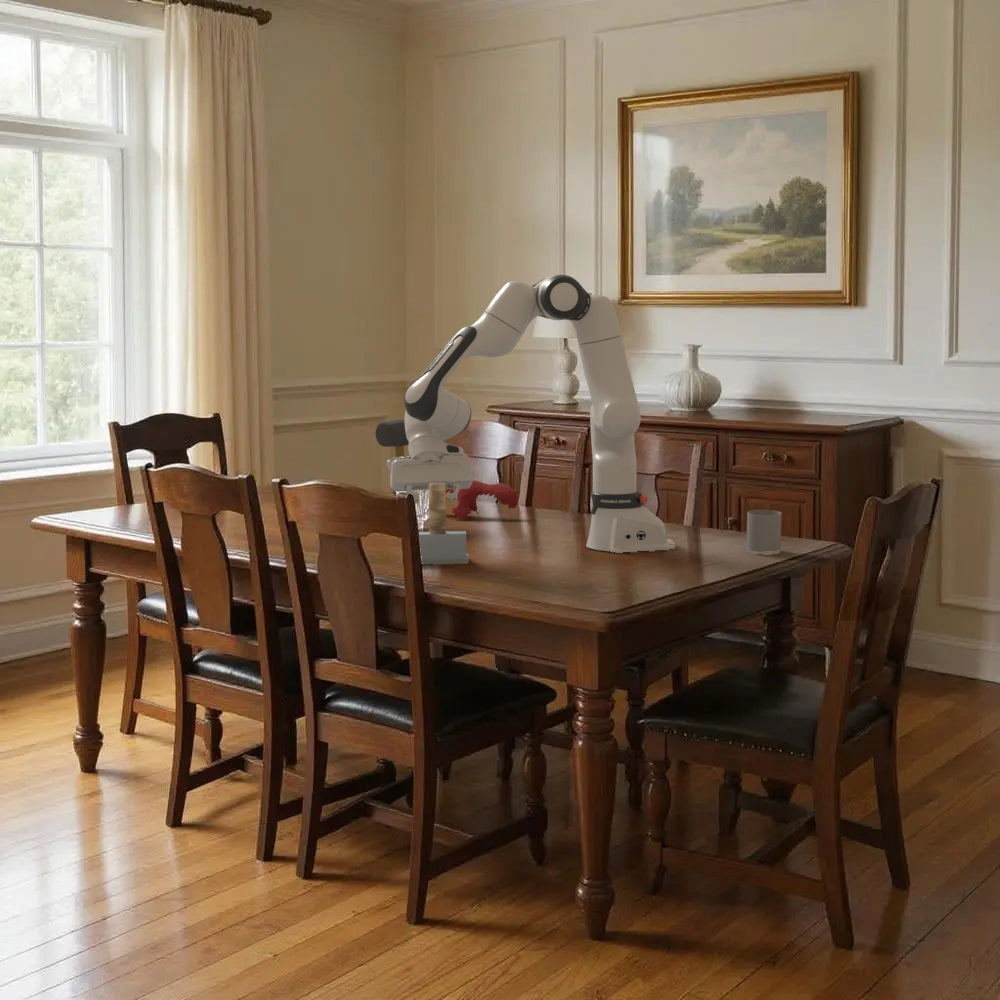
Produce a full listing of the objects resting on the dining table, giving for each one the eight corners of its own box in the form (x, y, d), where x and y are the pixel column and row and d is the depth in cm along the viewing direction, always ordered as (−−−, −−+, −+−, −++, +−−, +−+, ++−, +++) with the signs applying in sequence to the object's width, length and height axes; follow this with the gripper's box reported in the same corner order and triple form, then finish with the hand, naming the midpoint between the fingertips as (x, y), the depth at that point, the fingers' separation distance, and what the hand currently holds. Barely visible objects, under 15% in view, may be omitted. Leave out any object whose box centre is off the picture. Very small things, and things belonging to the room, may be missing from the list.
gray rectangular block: (468, 558, 340) (467, 530, 339) (468, 563, 333) (468, 535, 332) (406, 559, 340) (406, 531, 338) (406, 564, 333) (405, 536, 332)
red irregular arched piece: (512, 535, 396) (525, 492, 404) (502, 517, 389) (516, 474, 396) (423, 529, 407) (438, 487, 415) (412, 511, 400) (427, 469, 408)
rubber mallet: (393, 531, 379) (391, 421, 375) (374, 528, 384) (372, 419, 380) (426, 525, 388) (424, 418, 384) (408, 522, 393) (406, 416, 389)
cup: (784, 550, 348) (785, 511, 347) (776, 556, 341) (777, 516, 339) (751, 548, 352) (751, 509, 350) (742, 553, 344) (743, 513, 343)
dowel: (445, 531, 338) (445, 482, 336) (445, 534, 334) (445, 484, 332) (429, 531, 337) (428, 482, 336) (429, 534, 333) (428, 484, 332)
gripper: (386, 449, 339) (393, 495, 331) (469, 447, 344) (477, 491, 336) (384, 465, 344) (391, 510, 336) (465, 463, 349) (474, 507, 341)
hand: (435, 501), depth 336 cm, fingers open, 8 cm apart
